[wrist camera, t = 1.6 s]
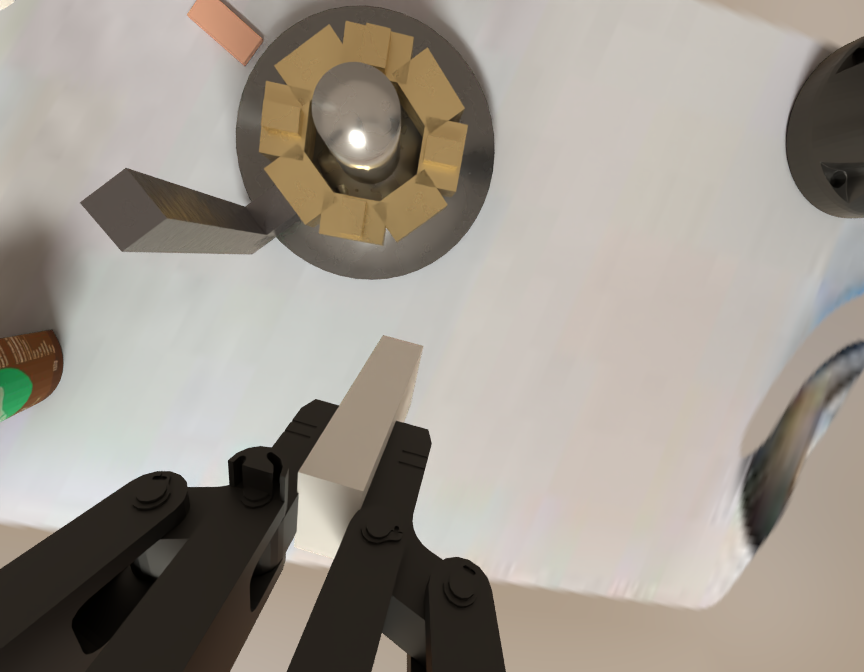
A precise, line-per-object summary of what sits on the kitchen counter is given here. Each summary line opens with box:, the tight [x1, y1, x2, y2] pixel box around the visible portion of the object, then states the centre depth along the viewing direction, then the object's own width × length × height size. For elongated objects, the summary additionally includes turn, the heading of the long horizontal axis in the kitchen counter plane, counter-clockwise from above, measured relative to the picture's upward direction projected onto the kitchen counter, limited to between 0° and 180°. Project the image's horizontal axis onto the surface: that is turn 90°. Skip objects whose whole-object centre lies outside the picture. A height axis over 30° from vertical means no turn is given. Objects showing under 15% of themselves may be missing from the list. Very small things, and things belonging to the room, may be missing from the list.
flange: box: [236, 6, 494, 280], centre depth 29 cm, size 20×20×11 cm
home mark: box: [187, 0, 263, 66], centre depth 31 cm, size 5×2×1 cm, turn 50°
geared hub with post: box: [80, 21, 468, 254], centre depth 24 cm, size 19×14×16 cm
